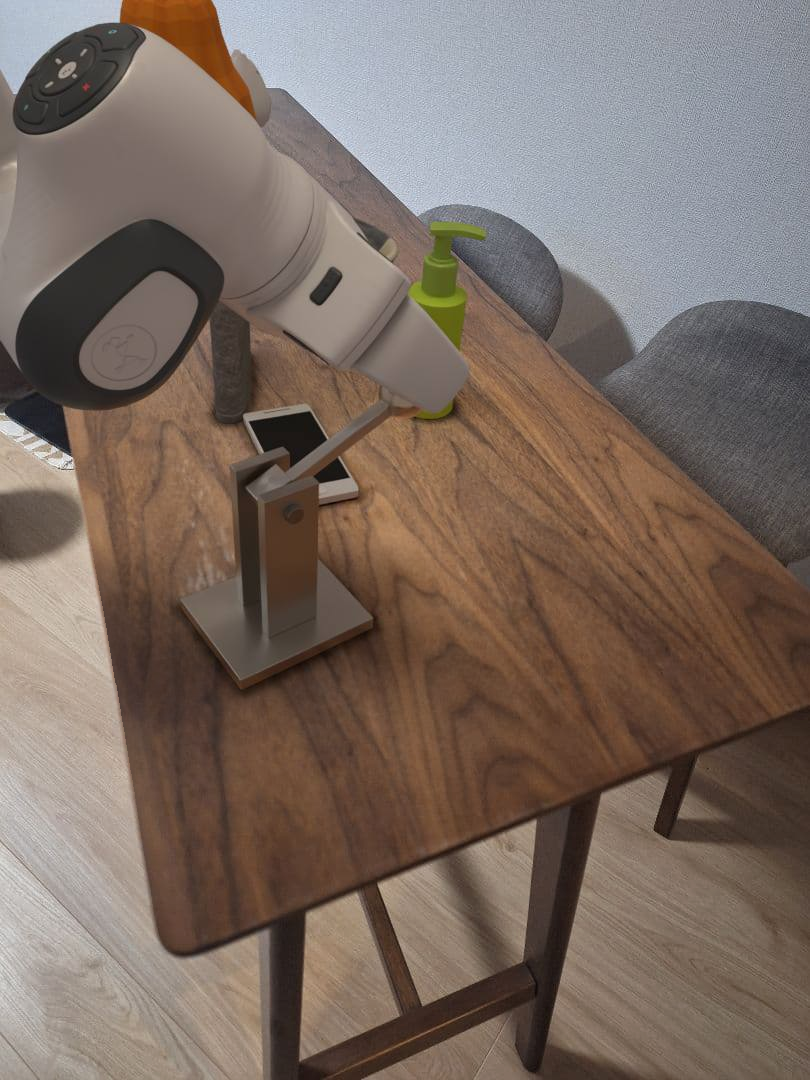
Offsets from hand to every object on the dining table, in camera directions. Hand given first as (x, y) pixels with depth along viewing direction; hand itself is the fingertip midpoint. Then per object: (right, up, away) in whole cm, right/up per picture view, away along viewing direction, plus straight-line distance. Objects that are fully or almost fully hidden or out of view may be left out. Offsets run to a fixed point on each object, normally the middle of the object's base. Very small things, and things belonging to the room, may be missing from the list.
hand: (404, 358), depth 65 cm
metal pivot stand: (-10, -19, +9) cm, 24 cm away
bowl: (-10, +16, +49) cm, 52 cm away
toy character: (-29, +61, +97) cm, 118 cm away
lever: (-4, -7, +2) cm, 8 cm away
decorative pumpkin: (-35, +45, +78) cm, 97 cm away
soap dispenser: (+3, +2, +34) cm, 34 cm away
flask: (-18, +4, +34) cm, 39 cm away
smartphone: (-11, -5, +25) cm, 27 cm away
